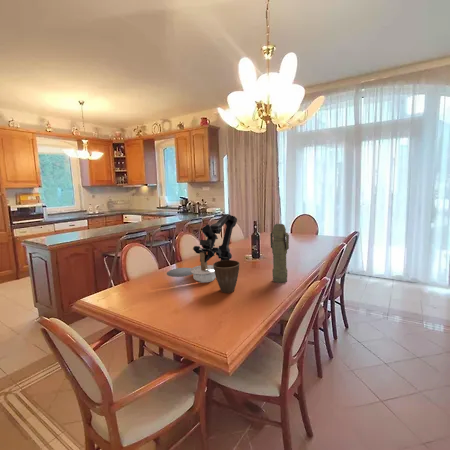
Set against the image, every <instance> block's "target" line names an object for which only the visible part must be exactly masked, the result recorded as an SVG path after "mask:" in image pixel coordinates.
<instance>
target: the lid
mask: <svg viewBox="0 0 450 450" xmlns="http://www.w3.org/2000/svg"><path fill="white" fill-rule="evenodd" d="M206 256H207V252H200V254H199V260H200V259H201V262H200V265H197V266H196V265H195V266H194V267H191V268H192V269H191V270H190V272H191V273H192V275H193V274H195V275H208V274H213V273H215V272H214V267H213V264H208V261H207V262H206V263H205V258H206Z"/></svg>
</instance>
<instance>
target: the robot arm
mask: <svg viewBox="0 0 450 450" xmlns="http://www.w3.org/2000/svg"><path fill="white" fill-rule="evenodd" d="M237 222H238V218H237V217H236V216H234V215H231V214H229V213H223V214H222V216H220V218H219V219H218V220H217V221H216V222H214V223H212V224H211V225H210V224H206V225H204V226H203V227H202V228H201V233H202V234H203V235H204V236H205V238H206V239H200V240H199V245H200V246H199V245H194V246H193V248H192V250H193V251H194V253H195V254H199V255H200V252H207V256H206V258H205V263H206V262H207V263H208V261H209V260H211V258H213V257H215V255H216V256H217V258H218V259H220V260H219V261H222V260H232V257H233V256H232V253H231V252H230V251H231V249H230V247H229V246H230V243H231V241H230V240H231V237H232V233H233V228H234V227H236V224H237ZM224 225H225V226H226V227H225V230H224V235H223V239H222V243H221V245H219V246H218V247H215V246H216V244H215V243H216V240H218V239H219V238H218V235H219V234H220V233H221V232H222V230H223V229H222V228H223V227H224ZM199 262H200V263H201V259H200V258H199Z"/></svg>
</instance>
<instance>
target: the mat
mask: <svg viewBox="0 0 450 450" xmlns="http://www.w3.org/2000/svg"><path fill="white" fill-rule="evenodd" d="M192 268H193V267H178V268H177V267H176V268H173V269H170V270H169V271H167V272H166V275H167V276H168V277H174V278H182V277H189V276H192V275H193V274H192V273H191V272H190V270H191V269H192Z"/></svg>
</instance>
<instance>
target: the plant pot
mask: <svg viewBox="0 0 450 450" xmlns="http://www.w3.org/2000/svg"><path fill="white" fill-rule="evenodd" d="M212 265H213V267H214V272H215V276H216V278H215V280H216V282H217V284H218V287H219V289H220V291H221V293H224V294H229V293H233V292H234V291H235V288H236V286H237V282H238V279H239V278H238V277H239V271H240V262H239V261H238V260H234V259H230V260H222V261H220V260H218V261H215V262H213V264H212Z"/></svg>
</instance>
